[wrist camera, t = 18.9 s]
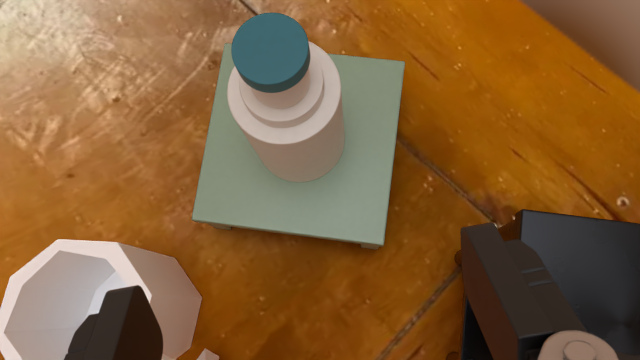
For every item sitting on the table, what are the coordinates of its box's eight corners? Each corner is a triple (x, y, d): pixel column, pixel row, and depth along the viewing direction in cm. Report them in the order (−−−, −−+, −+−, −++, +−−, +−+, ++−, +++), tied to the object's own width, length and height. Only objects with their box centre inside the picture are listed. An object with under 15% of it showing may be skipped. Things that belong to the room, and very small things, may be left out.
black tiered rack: (575, 264, 38) (729, 234, 22) (570, 388, 36) (731, 450, 21) (455, 248, 39) (521, 208, 23) (444, 369, 37) (508, 415, 21)
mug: (59, 335, 39) (-38, 345, 29) (130, 229, 40) (59, 205, 31) (202, 434, 37) (147, 479, 27) (271, 318, 38) (243, 323, 29)
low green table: (399, 90, 41) (405, 61, 36) (380, 253, 39) (383, 245, 34) (239, 72, 42) (224, 42, 38) (211, 230, 40) (190, 219, 35)
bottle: (350, 102, 36) (346, -8, 23) (338, 187, 35) (328, 120, 22) (264, 93, 37) (215, -20, 24) (250, 176, 35) (190, 104, 23)
